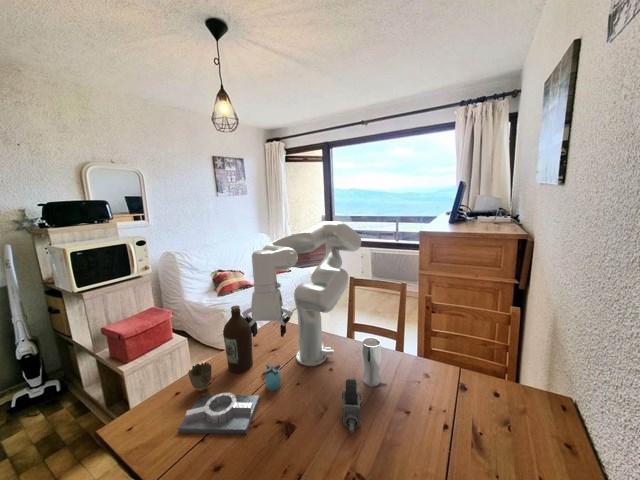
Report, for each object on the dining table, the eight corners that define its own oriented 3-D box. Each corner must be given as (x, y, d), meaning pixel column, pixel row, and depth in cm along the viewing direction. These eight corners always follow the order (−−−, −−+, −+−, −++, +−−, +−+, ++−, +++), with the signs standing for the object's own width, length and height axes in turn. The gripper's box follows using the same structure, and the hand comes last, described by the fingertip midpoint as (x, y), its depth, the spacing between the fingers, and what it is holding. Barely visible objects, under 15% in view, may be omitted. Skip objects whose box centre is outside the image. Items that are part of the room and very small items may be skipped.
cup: (205, 398, 88) (202, 376, 87) (186, 395, 90) (183, 374, 88) (217, 383, 95) (215, 362, 94) (200, 380, 97) (197, 361, 96)
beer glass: (359, 384, 91) (359, 345, 89) (364, 372, 98) (363, 335, 95) (380, 389, 89) (379, 348, 86) (383, 376, 95) (383, 338, 93)
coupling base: (259, 399, 86) (258, 388, 86) (246, 434, 74) (245, 421, 73) (201, 398, 88) (200, 388, 87) (178, 432, 75) (176, 420, 74)
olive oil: (241, 355, 112) (236, 299, 108) (259, 362, 106) (255, 304, 103) (221, 369, 103) (214, 309, 99) (239, 378, 97) (233, 314, 94)
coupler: (281, 381, 95) (280, 363, 94) (278, 391, 90) (277, 372, 89) (268, 380, 95) (266, 363, 94) (264, 390, 90) (262, 372, 89)
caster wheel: (342, 401, 85) (341, 438, 71) (342, 372, 85) (340, 404, 70) (360, 402, 85) (362, 440, 70) (359, 373, 84) (361, 405, 69)
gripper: (293, 283, 90) (295, 329, 93) (244, 283, 91) (248, 329, 94) (289, 290, 83) (292, 340, 85) (236, 291, 84) (240, 340, 87)
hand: (269, 335), depth 90 cm, fingers open, 9 cm apart
